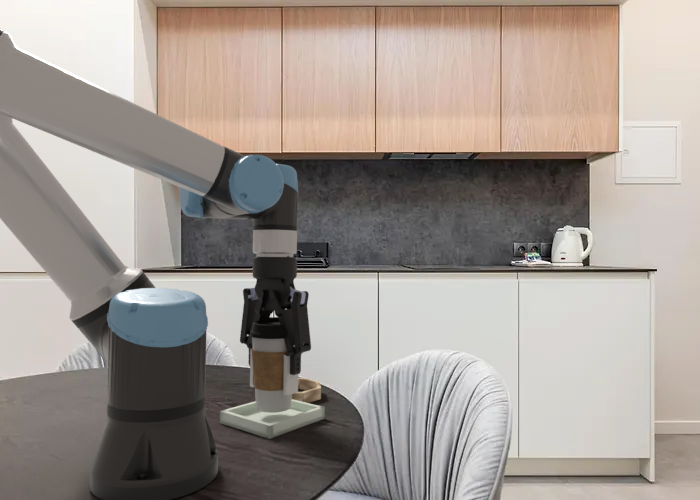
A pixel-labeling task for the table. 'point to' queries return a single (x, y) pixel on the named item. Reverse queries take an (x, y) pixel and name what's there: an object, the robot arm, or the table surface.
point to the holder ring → (308, 390)
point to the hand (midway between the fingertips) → (273, 389)
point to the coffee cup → (269, 366)
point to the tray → (271, 418)
